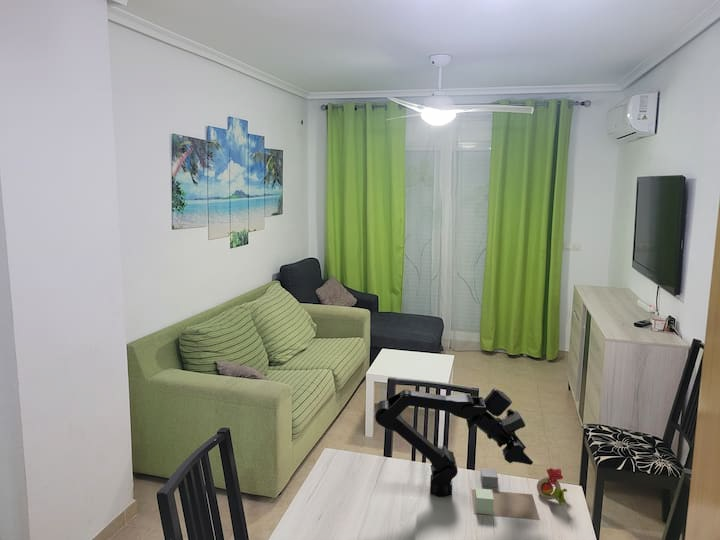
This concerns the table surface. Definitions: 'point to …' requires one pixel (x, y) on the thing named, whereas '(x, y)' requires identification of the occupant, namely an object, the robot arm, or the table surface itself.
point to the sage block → (484, 501)
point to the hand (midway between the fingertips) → (528, 455)
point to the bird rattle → (546, 486)
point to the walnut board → (512, 505)
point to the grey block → (489, 477)
